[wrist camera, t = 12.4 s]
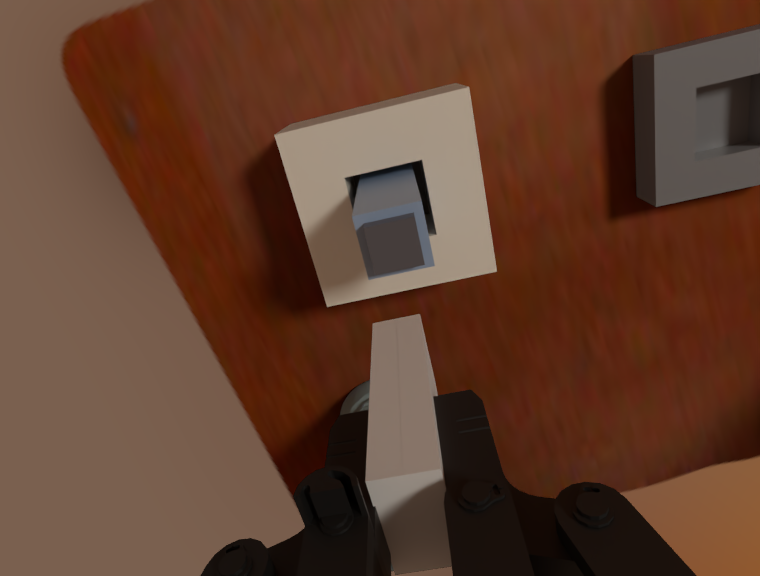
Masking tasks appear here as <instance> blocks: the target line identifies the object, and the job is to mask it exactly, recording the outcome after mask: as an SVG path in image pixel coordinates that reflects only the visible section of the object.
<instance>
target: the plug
mask: <svg viewBox="0 0 760 576" xmlns="http://www.w3.org/2000/svg"><path fill="white" fill-rule="evenodd" d="M352 219H353V223H354V226H355V230H356V234H357V238H358V242H359V245H360V249H361V253H362V257H363V261H364V264H365V268H366V272H367V276H368V280H371V279H376V278H381V277H385V276H390V275H395V274H400V273H404V272H409V271H414V270H418V269H423V268H428V267H432V266H435V264H434V259H433V254H432V249H431V244H430V239H429V234H428V230H427V225H426V220H425V215H424V210H423V205H422V200H421V197H420V193H419V189H418V186H417V182H416V179H415V175H414V171H413V168H412V164H411V162H410V163H406V164H402V165H397V166H393V167H389V168H385V169H380V170H376V171H372V172H368V173H363V174H360V179H359V184H358V189H357V193H356V198H355V203H354V208H353V213H352Z"/></svg>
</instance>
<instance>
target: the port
mask: <svg viewBox="0 0 760 576" xmlns="http://www.w3.org/2000/svg"><path fill="white" fill-rule="evenodd" d="M274 136H275V139H276V142H277V146H278V149H279V152H280V155H281V159H282V162H283V165H284V168H285V172H286V175H287V178H288V181H289V185H290V188H291V191H292V194H293V198H294V201H295V204H296V207H297V211H298V214H299V217H300V220H301V224H302V227H303V230H304V233H305V237H306V240H307V243H308V247H309V250H310V253H311V256H312V260H313V263H314V266H315V269H316V273H317V276H318V279H319V282H320V286H321V289H322V292H323V295H324V299H325V302H326V305H327V307H330V306H334V305H339V304H344V303H349V302H353V301H358V300H363V299H368V298H373V297H377V296H382V295H387V294H392V293H396V292H401V291H406V290H411V289H416V288H420V287H425V286H430V285H435V284H439V283H444V282H449V281H454V280H459V279H463V278H468V277H473V276H478V275H482V274H487V273H492V272H497V269H496V262H495V256H494V249H493V242H492V236H491V229H490V223H489V216H488V209H487V203H486V196H485V189H484V183H483V176H482V169H481V163H480V156H479V150H478V143H477V136H476V130H475V123H474V116H473V110H472V103H471V97H470V90H469V87H467V86H464V85H460V84H457V83H454V84H450V85H446V86H442V87H438V88H434V89H430V90H426V91H422V92H418V93H414V94H410V95H406V96H402V97H398V98H394V99H390V100H386V101H382V102H378V103H374V104H369V105H365V106H361V107H357V108H353V109H349V110H345V111H341V112H337V113H333V114H329V115H325V116H321V117H317V118H313V119H309V120H305V121H301V122H297V123H293V124H290V125H288V126H287V127H285V128H284V129H282V130H281V131H279V132H278V133H276V134H275V135H274ZM410 162H411V164H412V168H413V171H414V175H415V179H416V182H417V186H418V189H419V193H420V197H421V200H422V205H423V210H424V215H425V220H426V225H427V230H428V234H429V239H430V244H431V249H432V254H433V259H434V264H435V266H432V267H428V268H423V269H418V270H414V271H409V272H404V273H400V274H395V275H390V276H385V277H381V278H376V279H371V280H368V276H367V272H366V268H365V264H364V261H363V257H362V253H361V249H360V245H359V242H358V238H357V234H356V230H355V226H354V223H353V219H352V213H353V208H354V203H355V198H356V193H357V189H358V184H359V179H360V174H363V173H368V172H372V171H376V170H380V169H385V168H389V167H393V166H397V165H402V164H406V163H410Z"/></svg>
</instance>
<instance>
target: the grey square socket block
mask: <svg viewBox="0 0 760 576" xmlns="http://www.w3.org/2000/svg"><path fill="white" fill-rule="evenodd" d="M633 88H634V124H635V159H636V195H637V197H638V198H640V199H642V200H644V201H646V202H648V203H649V204H651V205H653V206H655V207H658V206H663V205H668V204H672V203H677V202H682V201H686V200H691V199H696V198H700V197H705V196H709V195H714V194H719V193H723V192H728V191H733V190H737V189H742V188H747V187H751V186H756V185H760V24H759V25H754V26H750V27H746V28H742V29H738V30H734V31H730V32H726V33H722V34H718V35H714V36H710V37H705V38H701V39H697V40H693V41H689V42H685V43H681V44H677V45H673V46H669V47H665V48H660V49H656V50H652V51H648V52H644V53H640V54H636V55H633Z"/></svg>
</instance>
